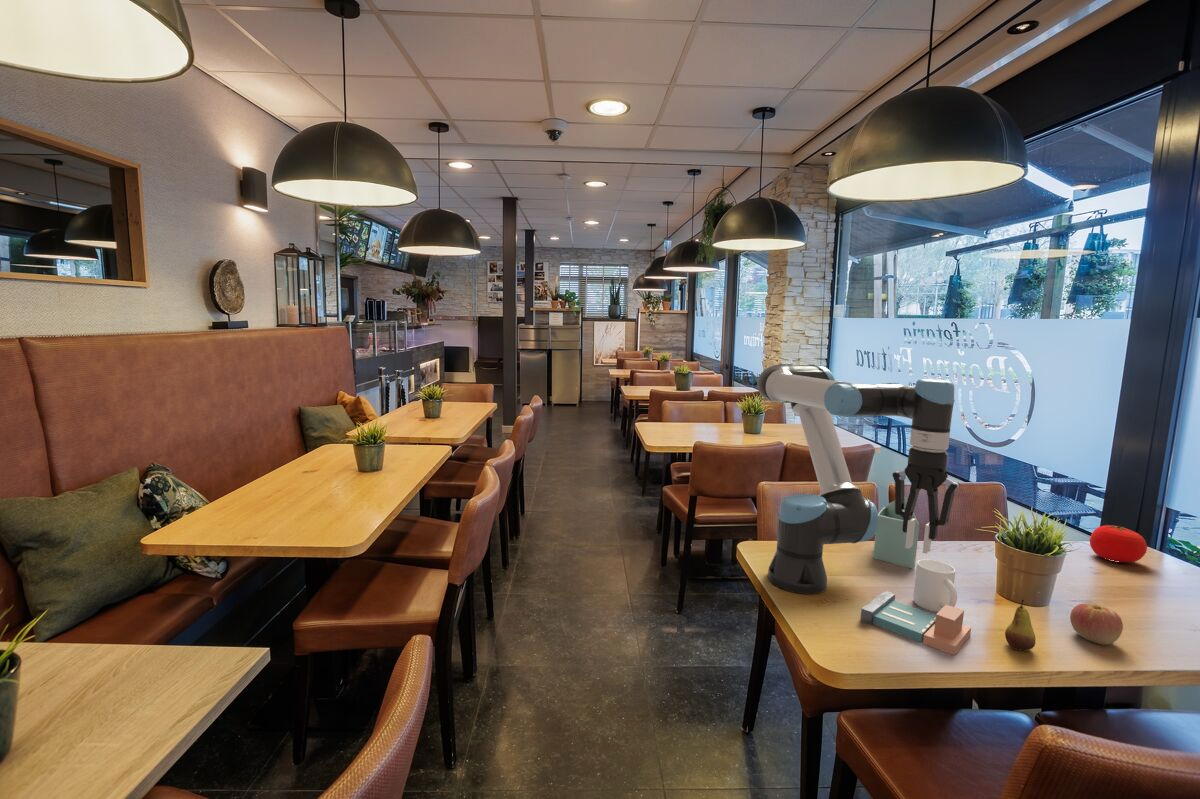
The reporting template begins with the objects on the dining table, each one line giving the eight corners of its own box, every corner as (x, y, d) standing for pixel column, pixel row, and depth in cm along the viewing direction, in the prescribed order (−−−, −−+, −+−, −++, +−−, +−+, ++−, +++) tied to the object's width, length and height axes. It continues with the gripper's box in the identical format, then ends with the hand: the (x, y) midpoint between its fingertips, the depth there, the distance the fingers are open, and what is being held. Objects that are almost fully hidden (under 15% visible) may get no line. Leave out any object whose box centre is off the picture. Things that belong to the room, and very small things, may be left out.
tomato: (1090, 549, 185) (1095, 517, 183) (1145, 562, 175) (1151, 528, 174) (1084, 558, 177) (1089, 524, 175) (1142, 572, 167) (1147, 536, 166)
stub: (923, 643, 124) (926, 615, 123) (940, 625, 132) (943, 599, 131) (954, 655, 119) (957, 626, 119) (970, 635, 128) (973, 609, 127)
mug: (969, 621, 134) (974, 580, 133) (935, 621, 134) (940, 579, 133) (936, 597, 146) (941, 559, 145) (906, 597, 146) (910, 559, 145)
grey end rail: (860, 621, 132) (861, 608, 132) (883, 602, 142) (885, 590, 142) (870, 625, 131) (872, 612, 130) (894, 606, 140) (895, 594, 140)
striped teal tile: (861, 619, 133) (861, 610, 133) (880, 603, 142) (881, 595, 141) (921, 642, 124) (922, 633, 124) (938, 624, 132) (939, 615, 132)
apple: (1106, 653, 122) (1111, 619, 121) (1059, 633, 130) (1064, 600, 129) (1128, 646, 126) (1133, 612, 125) (1081, 626, 134) (1086, 594, 133)
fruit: (1042, 655, 121) (1049, 602, 119) (1016, 655, 120) (1024, 602, 119) (1020, 640, 126) (1027, 590, 125) (996, 641, 126) (1003, 590, 124)
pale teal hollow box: (858, 547, 179) (864, 487, 177) (881, 547, 180) (887, 487, 178) (889, 569, 163) (896, 503, 161) (915, 569, 164) (922, 503, 162)
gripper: (884, 444, 129) (874, 542, 132) (964, 457, 118) (952, 564, 121) (896, 440, 135) (887, 535, 137) (974, 453, 123) (962, 556, 126)
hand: (917, 549), depth 129 cm, fingers open, 3 cm apart
